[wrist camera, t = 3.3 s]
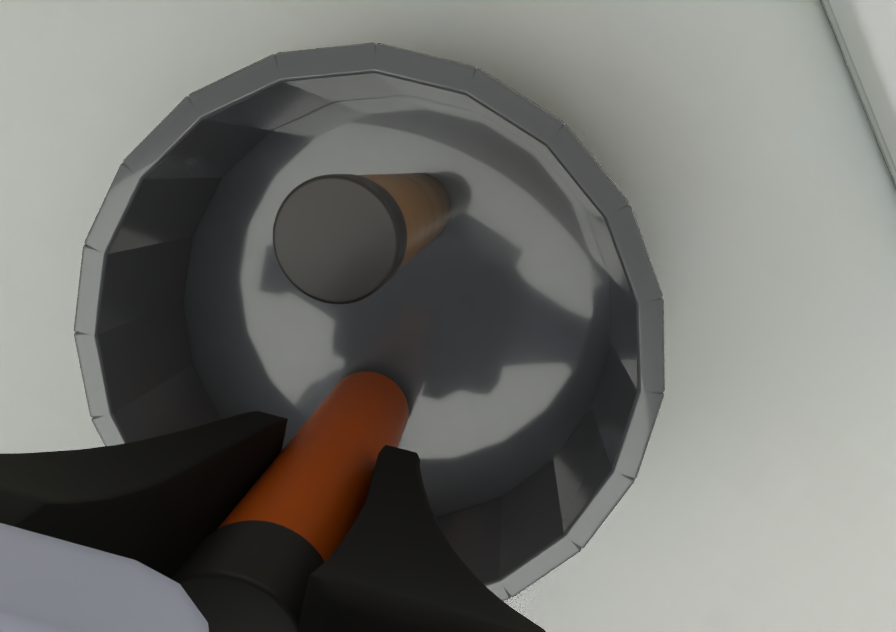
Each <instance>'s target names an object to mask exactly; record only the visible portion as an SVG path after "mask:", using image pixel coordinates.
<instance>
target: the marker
mask: <svg viewBox="0 0 896 632" xmlns="http://www.w3.org/2000/svg"><path fill="white" fill-rule="evenodd" d="M408 416H409V410H408V403H407V400H406V397H405V395H404V393H403V391H402V390H401V389H400V387H399V386H398V385H397V384H396V383H395V382H394V381H392V380H391V379H390V378H388V377H386V376H384V375H382V374H379V373H376V372H369V371H363V372H357V373H353V374H350V375H348V376H346V377H345V378H343V379H342V380H341V381H340V382H339V383H338V384H337V385H336V386H335V387H334V388H333V390H332V391H331V392H330V393H329V395H328V396H327V397H326V398H325V399H324V401H323V402H322V403H321V404H320V405H319V407H318V408H317V409H316V410H315V411H314V413H313V414H312V415H311V416H310V418H309V419H308V420H307V421H306V422H305V424H304V425H303V426H302V427H301V428H300V430H299V431H298V432H297V433H296V434H295V436H294V437H293V438H292V439H291V441H290V442H289V443H288V444H287V445H286V447H285V448H284V449H283V450H282V451H281V453H280V454H279V455H278V456H277V457H276V459H275V460H274V461H273V462H272V463H271V465H270V466H269V467H268V468H267V470H266V471H265V472H264V473H263V474H262V476H261V477H260V478H259V479H258V480H257V482H256V483H255V484H254V485H253V486H252V488H251V489H250V490H249V491H248V493H247V494H246V495H245V496H244V497H243V499H242V500H241V501H240V502H239V503H238V505H237V506H236V507H235V508H234V509H233V511H232V512H231V513H230V514H229V516H228V517H227V518H226V519H225V520H224V522H223V523H222V524H221V525H220V526H219V528H218V529H217V530H216V531H214V532H212V533H211V534H210V535H209V536H207V537H206V538H205V539H204V540H203V541H202V543H201V544H200V545H199V546H198V547H197V549H196V550H195V551H194V552H193V553H192V554H191V556H190V557H189V558H188V559H187V560H186V562H185V563H184V564H183V565H182V566H181V568H180V569H179V570H178V571H177V572H176V574H175V575H174V576H173V577H172V578H171V579H172V580H174V581H175V582H177V583H179V584H180V585H181V586H182V588H183V589H184V590H185V592H186V593H187V595H188V596H189V597H190V599H191V600H192V601H193V603H194V604H195V606H196V607H197V608H198V610H199V611H200V612H201V614H202V615H203V617H204V618H205V619H206V621H207V622H208V627H209V632H297V629H298V625H299V620H300V616H301V611H302V606H303V602H304V597H305V593H306V588H307V583H308V579H309V574H311V573H312V572H314V571H315V570H316V569H317V568H319V567H320V566H321V565H322V564H323V563H324V562H325V561H326V560H327V559H329V557H330V556H331V555H332V554H333V552H334V551H335V550H336V549H337V547H338V546H339V545H340V544H341V542H342V541H343V539H344V538H345V536H346V535H347V533H348V532H349V530H350V529H351V527H352V526H353V524H354V522H355V520H356V519H357V517H358V515H359V513H360V512H361V510H362V508H363V506H364V504H365V501H366V499H367V496H368V492H369V488H370V484H371V480H372V476H373V473H374V469H375V465H376V461H377V457H378V453H379V452H380V451H381V449H382V448H383V447H384V446H385V445H389V446H393V447H397V446H398V444H399V442H400V439H401V437H402V434H403V432H404V430H405V427H406V425H407V421H408Z"/></svg>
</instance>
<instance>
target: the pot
mask: <svg viewBox="0 0 896 632" xmlns="http://www.w3.org/2000/svg"><path fill="white" fill-rule="evenodd" d="M123 162H124V163H122V164H121V165H120V167H119V169H118V171H117V173H116V176H115V178H114V180H113V182H112V184H111V186H110V188H109V191H108V193H107V195H106V197H105V199H104V201H103V203H102V206H101V208H100V210H99V212H98V214H97V216H96V218H95V221H94V223H93V225H92V227H91V229H90V231H89V233H88V236H87V238H86V240H85V244H86V245H84V246H83V253H82V262H81V271H80V280H79V289H78V298H77V307H76V316H75V324H74V331H75V333H74V337H75V342H76V347H77V352H78V357H79V362H80V367H81V372H82V377H83V382H84V387H85V392H86V397H87V402H88V407H89V412H90V416H91V417H93V418H92V422H93V424H94V425H95V427H96V429H97V431H98V433H99V435H100V437H101V439H102V441H103V443H104V444H105V446H112V445H119V444H124V443H130V442H135V441H140V440H145V439H149V438H153V437H157V436H161V435H166V434H170V433H174V432H178V431H182V430H186V429H190V428H193V427H197V426H200V425H204V424H207V423H211V422H214V421H218V420H221V419H225V418H228V417H232V416H235V415H239V414H243V413H247V412H252V411H260V412H264V413H268V414H272V415H276V416H279V417H283V418H287V419H288V421H287V426H286V431H285V436H284V442H283V447H282V450H283V449H284V448H285V447H286V445H287V444H288V443H289V442H290V441H291V439H292V438H293V437H294V436H295V434H296V433H297V432H298V431H299V430H300V428H301V427H302V426H303V425H304V424H305V422H306V421H307V420H308V419H309V418H310V416H311V415H312V414H313V413H314V411H315V410H316V409H317V408H318V407H319V405H320V404H321V403H322V402H323V401H324V399H325V398H326V397H327V396H328V395H329V393H330V392H331V391H332V390H333V388H334V387H335V386H336V385H337V384H338V383H339V382H340V381H341V380H342V379H343V378H345V377H346V376H348V375H350V374H353V373H357V372H363V371H369V372H376V373H379V374H382V375H384V376H386V377H388V378H390V379H391V380H392V381H394V382H395V383H396V384H397V385H398V386H399V387H400V389H401V390H402V391H403V393H404V395H405V397H406V400H407V403H408V410H409V416H408V421H407V425H406V427H405V430H404V432H403V434H402V437H401V439H400V442H399V444H398V446H397V448H401V449H404V450H408V451H412V452H416V453H417V454H418V456H419V458H420V460H421V461H420V469H421V475H422V480H423V484H424V487H425V491H426V494H427V497H428V499H429V502H430V505H431V508H432V510H433V513H434V515H435V517H436V519H437V522H438V524H439V526H440V528H441V530H442V532H443V534H444V536H445V537H446V539H447V541H448V542H449V544H450V545H451V547H452V548H453V550H454V551H455V553H456V554H457V555H458V556H459V558H460V559H461V560H462V561H463V563H464V564H465V565H466V566H467V567H468V568H469V569H470V571H471V572H472V573H473V574H474V575H475V576H476V577H477V578H478V579H479V580H480V581H481V582H482V583H483V584H484V585H485V586H486V587H487V588H488V589H489V590H490V591H492V592H493V593H494V594H495V595H496V596H497V597H499V598H500V599H501V600H502V601H504V600H507V599H510V598H511V597H514V596H516V595H517V594H518V593H520V592H521V591H523V590H524V589H526V588H527V587H529V586H530V585H532V584H533V583H534V582H536V581H537V580H539V579H540V578H542V577H543V576H545V575H546V574H548V573H549V572H551V571H552V570H553V569H555V568H556V567H558V566H559V565H561V564H562V563H564V562H565V561H567V560H568V559H570V558H571V557H572V556H574V555H575V554H577V553H578V552H580V551H581V548H584V547H585V546H586V544H587V543H588V542H589V540H590V539H591V538H592V536H593V535H594V534H595V532H596V531H597V530H598V528H599V527H600V526H601V525H602V523H603V522H604V521H605V519H606V518H607V517H608V515H609V514H610V513H611V511H612V510H613V509H614V507H615V506H616V505H617V504H618V502H619V501H620V500H621V498H622V497H623V496H624V494H625V493H626V492H627V490H628V489H629V488H630V486H631V485H632V484H633V483H634V480H635V479H636V477H637V475H638V472H639V469H640V466H641V463H642V460H643V457H644V454H645V451H646V448H647V445H648V442H649V439H650V436H651V433H652V430H653V427H654V424H655V421H656V418H657V415H658V412H659V409H660V406H661V403H662V400H663V397H664V393H663V392H664V390H665V368H664V300H663V298H662V292H661V289H660V286H659V283H658V280H657V278H656V275H655V272H654V269H653V267H652V264H651V261H650V258H649V255H648V253H647V250H646V247H645V244H644V242H643V239H642V236H641V233H640V230H639V228H638V225H637V222H636V219H635V216H634V214H633V211H632V208H631V206H630V205H628V201H627V199H626V198H625V197H624V196H623V194H622V193H621V192H620V191H619V189H618V188H617V187H616V186H615V184H614V183H613V182H612V181H611V179H610V178H609V177H608V176H607V174H606V173H605V172H604V171H603V169H602V168H601V167H600V166H599V164H598V163H597V162H596V161H595V159H594V158H593V157H592V156H591V154H590V153H589V152H588V151H587V149H586V148H585V147H584V146H583V144H582V143H581V142H580V141H579V139H578V138H577V137H576V136H575V134H574V133H573V132H572V131H571V129H570V128H569V127H568V126H567V125H564V123H563V121H561V120H560V119H558V118H557V117H555V116H554V115H552V114H550V113H549V112H547V111H546V110H544V109H543V108H541V107H539V106H538V105H536V104H535V103H533V102H532V101H530V100H528V99H527V98H525V97H524V96H522V95H521V94H519V93H518V92H516V91H514V90H513V89H511V88H510V87H508V86H507V85H505V84H503V83H502V82H500V81H499V80H497V79H496V78H494V77H492V76H491V75H489V74H488V73H486V72H485V71H483V70H481V69H479V68H477V69H476V67H474V66H472V65H468V64H464V63H460V62H455V61H451V60H447V59H443V58H439V57H435V56H430V55H426V54H422V53H418V52H414V51H410V50H405V49H401V48H397V47H393V46H389V45H385V44H380V43H378V44H375V43H365V44H355V45H346V46H336V47H326V48H316V49H307V50H297V51H287V52H278V53H277V54H272V55H270V56H268V57H266V58H264V59H262V60H259V61H257V62H255V63H253V64H251V65H249V66H247V67H245V68H243V69H241V70H239V71H237V72H234V73H232V74H230V75H228V76H226V77H224V78H222V79H220V80H218V81H216V82H214V83H211V84H209V85H207V86H205V87H203V88H201V89H199V90H197V91H195V92H193V93H191V94H190V95H189V96H187V97H185V98H184V99H183V100H182V101H181V102H180V103H179V104H178V105H177V106H176V107H175V108H174V109H173V110H172V112H171V113H170V114H169V115H168V116H167V117H166V118H165V119H164V120H163V121H162V122H161V123H160V124H159V125H158V126H157V127H156V128H155V129H154V130H153V131H152V132H151V133H150V134H149V135H148V136H147V137H146V138H145V139H144V140H143V141H142V142H141V143H140V144H139V145H138V146H137V147H136V148H135V149H134V150H133V151H132V152H131V153H130V154H129V155H128V156H127V157H126V158H125V159H124V161H123ZM402 173H422V174H426V175H429V176H431V177H433V178H435V179H436V180H438V181H439V182H440V183H441V184H442V185H443V186H444V188H445V189H446V191H447V193H448V195H449V198H450V202H451V214H450V218H449V221H448V224H447V226H446V227H445V229H444V230H443V231H442V232H441V233H440V234H439V235H438V236H437V237H436V238H435V239H434V240H432V241H431V242H430V243H429V244H428V245H427V246H426V247H424V248H423V249H422V250H421V251H420V252H419V253H418V254H416V255H415V256H414V257H413V258H412V259H411V260H410V261H409V262H407V263H406V264H405V265H404V266H403V267H402V268H401V269H399V270H398V271H397V272H396V273H395V275H394V276H393V277H392V278H391V279H390V280H389V281H388V282H387V283H386V284H385V285H384V286H382V287H381V288H380V289H379V290H378V291H377V292H375V293H374V294H372V295H371V296H369V297H367V298H365V299H363V300H360V301H358V302H354V303H349V304H329V303H324V302H321V301H318V300H315V299H313V298H311V297H309V296H307V295H305V294H304V293H302V292H301V291H299V290H298V289H297V288H296V287H295V286H294V285H293V284H292V283H291V282H290V281H289V280H288V279H287V277H286V276H285V275H284V273H283V271H282V270H281V268H280V266H279V264H278V261H277V259H276V256H275V252H274V247H273V226H274V221H275V217H276V214H277V212H278V209H279V207H280V206H281V204H282V202H283V201H284V199H285V198H286V197H287V195H288V194H289V193H290V192H291V191H292V190H293V189H294V188H296V187H297V186H298V185H300V184H301V183H303V182H305V181H306V180H309V179H311V178H314V177H317V176H321V175H329V174H353V175H372V174H402Z"/></svg>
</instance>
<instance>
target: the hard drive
mask: <svg viewBox="0 0 896 632" xmlns="http://www.w3.org/2000/svg"><path fill="white" fill-rule="evenodd" d="M821 2H822V4H823V7H824V10H825V12H826V14H827V17H828V19H829V21H830V24H831V26H832V29H833V31H834V34H835V36H836V38H837V41H838V43H839V46H840V48H841V51H842V54H843V57H844V60H845V62H846V64H847V67H848V69H849V72H850V74H851V77H852V79H853V82H854V84H855V87H856V89H857V92H858V94H859V97H860V99H861V101H862V104H863V106H864V109H865V112H866V115H867V117H868V119H869V122H870V124H871V127H872V129H873V132H874V134H875V137H876V139H877V142H878V144H879V146H880V149H881V152H882V154H883V157H884V159H885V162H886V164H887V166H888V169H889V171H890V173H891V176H892V178H893V181H894V184H895V187H896V0H821Z"/></svg>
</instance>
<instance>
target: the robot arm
mask: <svg viewBox="0 0 896 632" xmlns="http://www.w3.org/2000/svg"><path fill="white" fill-rule="evenodd" d="M287 421H288V419H287V418H283V417H279V416H276V415H272V414H268V413H264V412H260V411H252V412H247V413H243V414H239V415H235V416H232V417H228V418H225V419H221V420H218V421H214V422H211V423H207V424H204V425H200V426H197V427H193V428H190V429H186V430H182V431H178V432H174V433H170V434H166V435H161V436H157V437H153V438H149V439H145V440H140V441H135V442H130V443H124V444H119V445H112V446H105V447H98V448H91V449H82V450H70V451H55V452H40V453H23V454H0V632H209V627H208V622H207V621H206V619H205V618H204V617H203V615H202V614H201V612H200V611H199V610H198V608H197V607H196V606H195V604H194V603H193V601H192V600H191V599H190V597H189V596H188V595H187V593H186V592H185V590H184V589H183V588H182V586H181V585H180V584H179V583H177V582H175V581H174V580H172V579H171V578H172V577H173V576H174V575H175V574H176V572H177V571H178V570H179V569H180V568H181V566H182V565H183V564H184V563H185V562H186V560H187V559H188V558H189V557H190V556H191V554H192V553H193V552H194V551H195V550H196V549H197V547H198V546H199V545H200V544H201V543H202V541H203V540H204V539H205V538H206V537H207V536H209V535H210V534H211V533H212V532H214V531H216V530H217V529H218V528H219V526H220V525H221V524H222V523H223V522H224V520H225V519H226V518H227V517H228V516H229V514H230V513H231V512H232V511H233V509H234V508H235V507H236V506H237V505H238V503H239V502H240V501H241V500H242V499H243V497H244V496H245V495H246V494H247V493H248V491H249V490H250V489H251V488H252V486H253V485H254V484H255V483H256V482H257V480H258V479H259V478H260V477H261V476H262V474H263V473H264V472H265V471H266V470H267V468H268V467H269V466H270V465H271V463H272V462H273V461H274V460H275V459H276V457H277V456H278V455H279V454H280V453H281V451H282V447H283V442H284V436H285V431H286V426H287ZM420 461H421V460H420V458H419V456H418V454H417V453H416V452H412V451H408V450H404V449H401V448H397V447H393V446H389V445H385V446H384V447H383V448H382V449H381V451H380V452H379V453H378V457H377V461H376V465H375V469H374V473H373V476H372V480H371V484H370V488H369V492H368V496H367V499H366V501H365V504H364V506H363V508H362V510H361V512H360V513H359V515H358V517H357V519H356V520H355V522H354V524H353V526H352V527H351V529H350V530H349V532H348V533H347V535H346V536H345V538H344V539H343V541H342V542H341V544H340V545H339V546H338V547H337V549H336V550H335V551H334V552H333V554H332V555H331V556H330V557H329V559H327V560H326V561H325V562H324V563H323V564H322V565H321V566H320V567H319V568H317V569H316V570H315V571H314V572H312V573H311V574H309V579H308V583H307V588H306V593H305V597H304V602H303V606H302V611H301V616H300V620H299V625H298V629H297V632H546V631H545V630H544V629H542V628H541V627H539V626H538V625H536V624H535V623H533V622H532V621H530V620H529V619H527V618H526V617H524V616H523V615H521V614H520V613H518V612H517V611H515V610H514V609H512V608H511V607H509V606H508V605H507V604H506V603H504V602H503V601H502V600H501V599H500V598H499V597H497V596H496V595H495V594H494V593H493V592H492V591H490V590H489V589H488V588H487V587H486V586H485V585H484V584H483V583H482V582H481V581H480V580H479V579H478V578H477V577H476V576H475V575H474V574H473V573H472V572H471V571H470V569H469V568H468V567H467V566H466V565H465V564H464V563H463V561H462V560H461V559H460V558H459V556H458V555H457V554H456V553H455V551H454V550H453V548H452V547H451V545H450V544H449V542H448V541H447V539H446V537H445V536H444V534H443V532H442V530H441V528H440V526H439V524H438V522H437V519H436V517H435V515H434V513H433V510H432V508H431V505H430V502H429V499H428V497H427V494H426V491H425V487H424V484H423V480H422V475H421V469H420Z"/></svg>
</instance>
